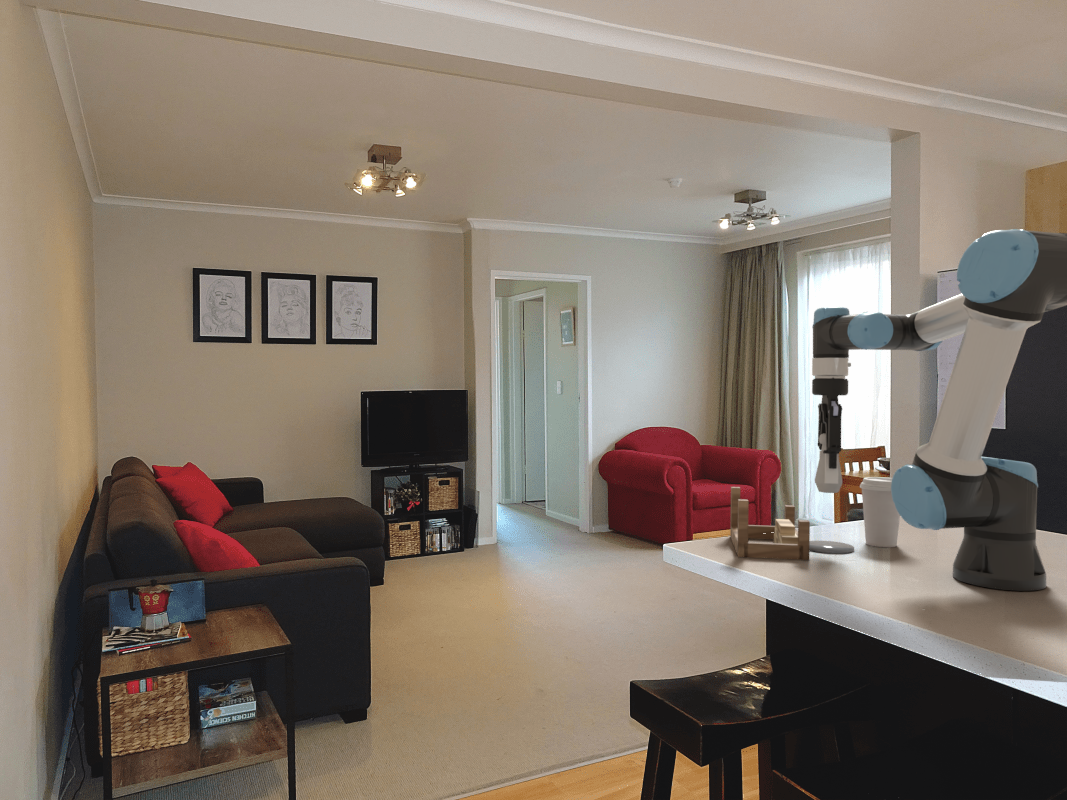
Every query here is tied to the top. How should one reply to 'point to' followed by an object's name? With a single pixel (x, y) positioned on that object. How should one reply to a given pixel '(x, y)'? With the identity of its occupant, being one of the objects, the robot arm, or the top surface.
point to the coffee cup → (879, 512)
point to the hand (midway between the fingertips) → (828, 481)
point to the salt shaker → (821, 472)
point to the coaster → (830, 547)
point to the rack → (765, 550)
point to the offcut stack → (785, 532)
